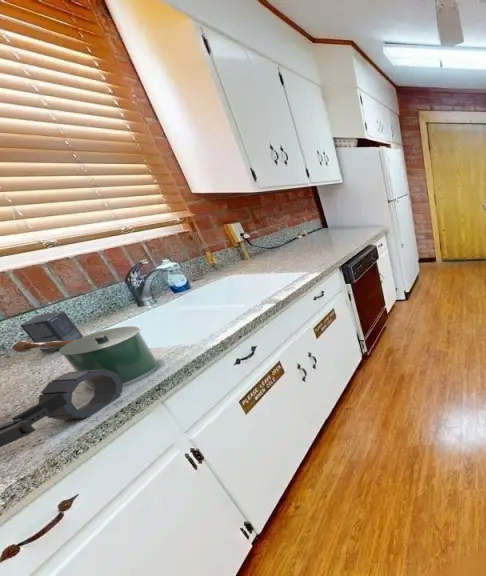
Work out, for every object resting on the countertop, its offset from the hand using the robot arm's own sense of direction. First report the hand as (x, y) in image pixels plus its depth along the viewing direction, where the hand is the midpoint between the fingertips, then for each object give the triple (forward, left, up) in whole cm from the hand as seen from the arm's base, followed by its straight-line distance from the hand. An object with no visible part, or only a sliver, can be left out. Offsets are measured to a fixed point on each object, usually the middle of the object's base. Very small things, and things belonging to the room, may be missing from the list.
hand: (24, 400), depth 62 cm
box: (-59, -2, -11) cm, 61 cm away
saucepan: (-25, +6, -11) cm, 28 cm away
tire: (-5, +5, -11) cm, 13 cm away
